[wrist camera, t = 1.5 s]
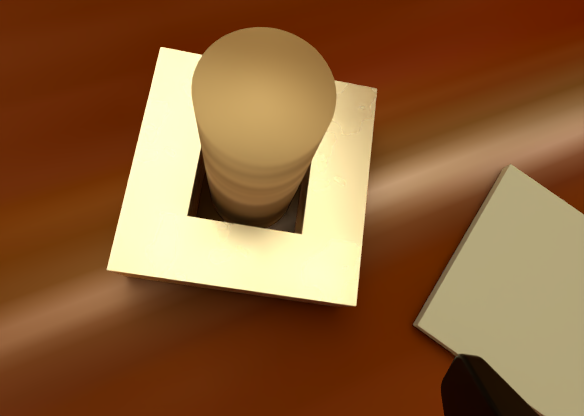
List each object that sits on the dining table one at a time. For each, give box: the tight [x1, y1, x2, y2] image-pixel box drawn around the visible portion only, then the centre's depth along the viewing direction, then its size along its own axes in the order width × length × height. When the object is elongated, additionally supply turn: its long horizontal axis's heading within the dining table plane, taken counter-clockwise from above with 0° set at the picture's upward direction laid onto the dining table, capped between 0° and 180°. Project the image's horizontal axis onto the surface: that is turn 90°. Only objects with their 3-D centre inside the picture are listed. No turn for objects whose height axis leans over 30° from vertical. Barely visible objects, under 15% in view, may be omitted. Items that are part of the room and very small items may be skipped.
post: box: [191, 27, 337, 228], centre depth 17 cm, size 4×4×10 cm
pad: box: [413, 164, 584, 416], centre depth 22 cm, size 10×10×1 cm
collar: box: [107, 47, 377, 307], centre depth 20 cm, size 10×10×3 cm
